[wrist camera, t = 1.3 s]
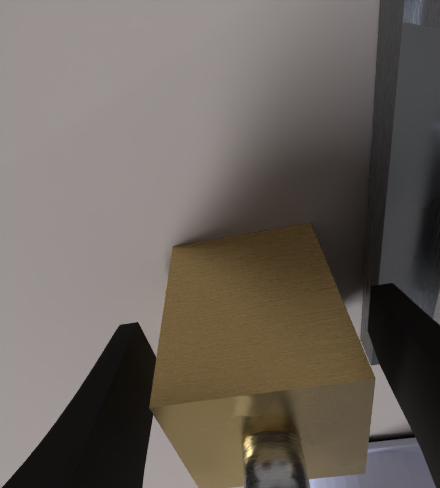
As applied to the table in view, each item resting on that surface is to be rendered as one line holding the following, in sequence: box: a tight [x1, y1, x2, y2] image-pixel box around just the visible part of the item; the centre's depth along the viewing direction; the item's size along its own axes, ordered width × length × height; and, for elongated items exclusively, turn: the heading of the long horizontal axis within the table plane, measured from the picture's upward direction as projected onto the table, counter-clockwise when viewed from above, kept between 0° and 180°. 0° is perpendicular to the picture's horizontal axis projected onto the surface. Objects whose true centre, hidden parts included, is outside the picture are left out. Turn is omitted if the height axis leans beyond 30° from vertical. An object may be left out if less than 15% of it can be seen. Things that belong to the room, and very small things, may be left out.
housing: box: [149, 223, 375, 488], centre depth 10 cm, size 4×4×7 cm
